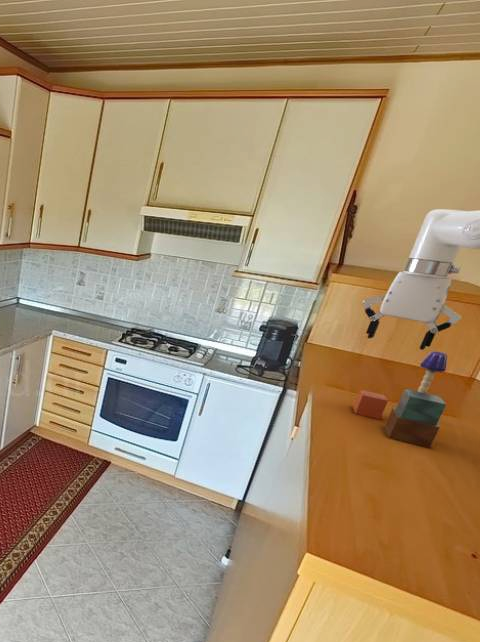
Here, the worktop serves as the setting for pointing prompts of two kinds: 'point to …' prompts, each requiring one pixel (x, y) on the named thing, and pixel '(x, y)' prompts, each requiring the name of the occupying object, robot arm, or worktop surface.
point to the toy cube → (370, 404)
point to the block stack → (415, 418)
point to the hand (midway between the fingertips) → (395, 343)
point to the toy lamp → (432, 368)
